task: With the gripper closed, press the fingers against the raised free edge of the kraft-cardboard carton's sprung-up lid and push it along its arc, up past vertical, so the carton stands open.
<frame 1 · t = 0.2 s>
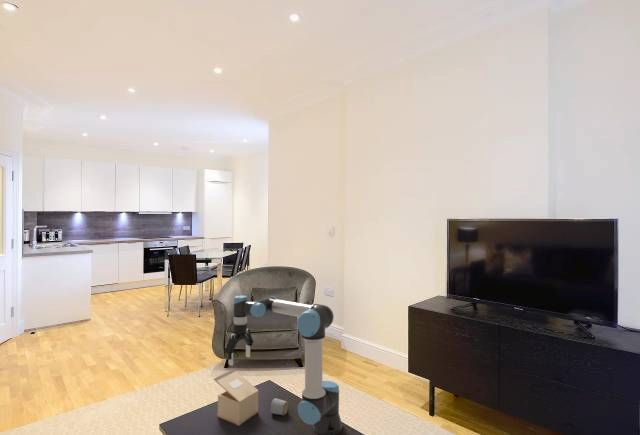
hand: (239, 360, 199), 28 cm above the table, tool pointing down, fingers open, 13 cm apart
carton lid: (236, 385, 196), point 16 cm above the table, hinge at 20.0°
carton: (238, 414, 195), on the table
ceramic mug: (279, 412, 199), on the table
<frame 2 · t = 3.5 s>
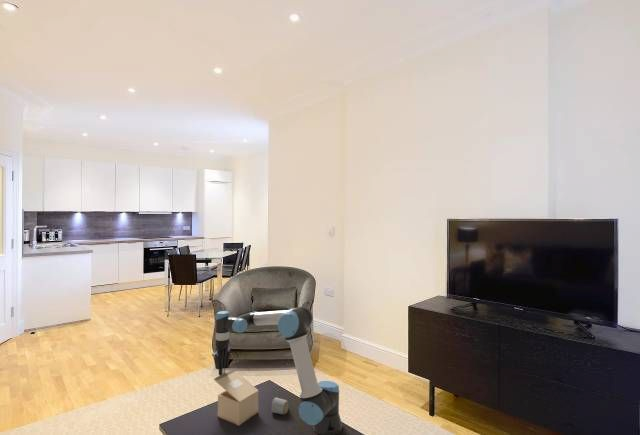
hand: (221, 379, 202), 16 cm above the table, tool pointing down, fingers closed
carton lid: (236, 384, 196), point 16 cm above the table, hinge at 20.0°, touching gripper
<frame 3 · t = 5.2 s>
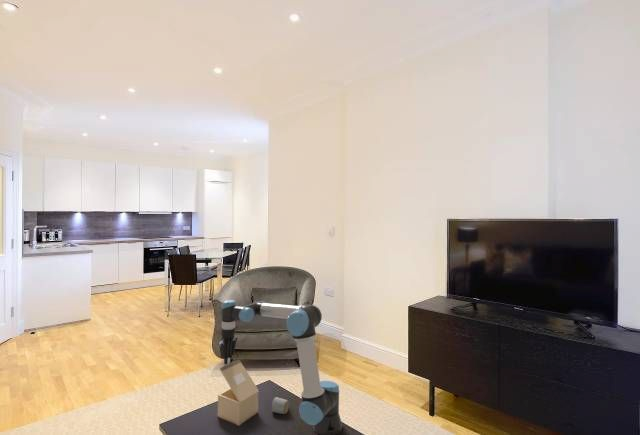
hand: (227, 369, 200), 23 cm above the table, tool pointing down, fingers closed
carton lid: (239, 379, 195), point 19 cm above the table, hinge at 42.5°, touching gripper
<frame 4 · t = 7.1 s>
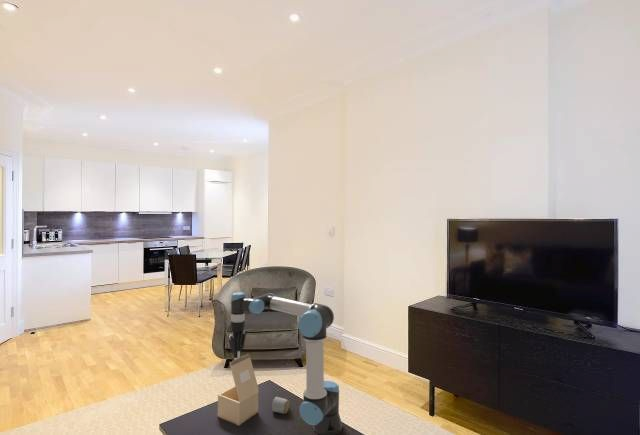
hand: (237, 362, 196), 28 cm above the table, tool pointing down, fingers closed
carton lid: (244, 377, 193), point 22 cm above the table, hinge at 68.1°, touching gripper
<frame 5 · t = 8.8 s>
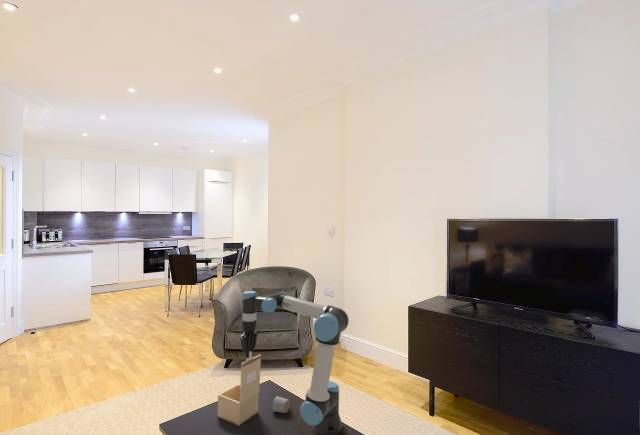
hand: (248, 363, 192), 30 cm above the table, tool pointing down, fingers closed
carton lid: (250, 378, 191), point 22 cm above the table, hinge at 92.5°, touching gripper
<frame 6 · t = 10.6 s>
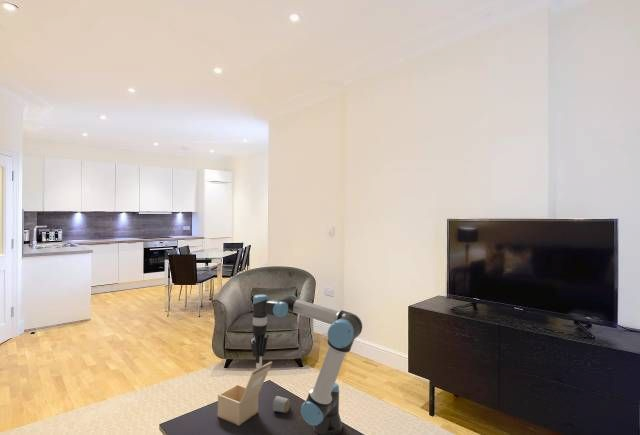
hand: (259, 368, 188), 29 cm above the table, tool pointing down, fingers closed
carton lid: (256, 382, 189), point 21 cm above the table, hinge at 115.6°, touching gripper
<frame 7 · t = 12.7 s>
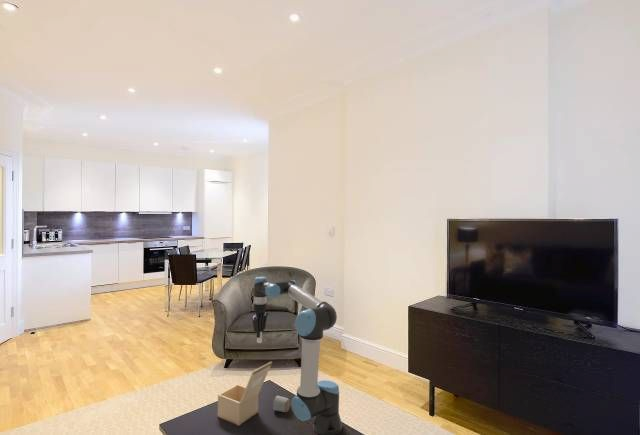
hand: (259, 342, 210), 35 cm above the table, tool pointing down, fingers closed
carton lid: (256, 382, 189), point 21 cm above the table, hinge at 115.6°
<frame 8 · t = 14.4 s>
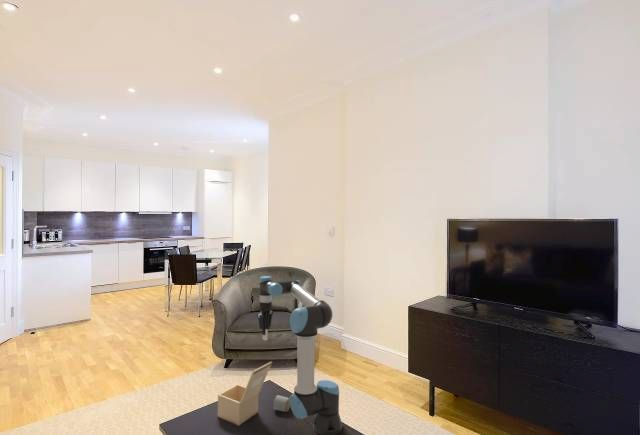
hand: (265, 339, 218), 34 cm above the table, tool pointing down, fingers closed
at the end: carton lid at +116° (first picture: +20°) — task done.
